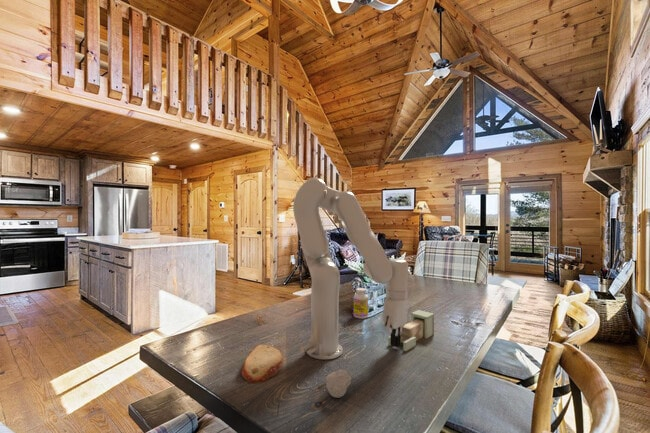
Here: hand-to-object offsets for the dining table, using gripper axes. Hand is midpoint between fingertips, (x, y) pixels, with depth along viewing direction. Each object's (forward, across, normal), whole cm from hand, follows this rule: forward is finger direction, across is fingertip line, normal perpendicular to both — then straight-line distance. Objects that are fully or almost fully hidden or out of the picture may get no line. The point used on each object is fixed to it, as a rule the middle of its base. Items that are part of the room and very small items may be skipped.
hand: (395, 345), depth 110 cm
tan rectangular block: (+1, -13, 0) cm, 13 cm away
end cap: (+1, -20, +1) cm, 20 cm away
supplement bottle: (+1, -18, -29) cm, 35 cm away
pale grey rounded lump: (+2, +36, +5) cm, 36 cm away
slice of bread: (+2, +40, -24) cm, 47 cm away
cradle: (+1, -4, 0) cm, 4 cm away
